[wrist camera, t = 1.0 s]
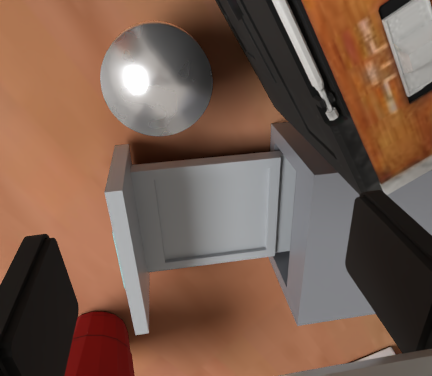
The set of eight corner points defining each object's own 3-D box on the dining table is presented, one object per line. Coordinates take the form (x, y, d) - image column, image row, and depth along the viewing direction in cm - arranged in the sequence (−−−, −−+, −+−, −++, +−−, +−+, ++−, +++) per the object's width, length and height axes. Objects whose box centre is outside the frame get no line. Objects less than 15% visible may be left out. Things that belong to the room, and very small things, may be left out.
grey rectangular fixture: (110, 145, 27) (99, 192, 21) (292, 129, 29) (330, 168, 23) (135, 271, 33) (131, 335, 27) (283, 252, 35) (311, 309, 29)
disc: (94, 23, 21) (89, 26, 19) (206, 17, 21) (210, 20, 20) (114, 130, 24) (111, 140, 22) (210, 122, 25) (214, 131, 23)
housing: (271, 123, 29) (314, 175, 21) (432, 109, 31) (527, 152, 23) (265, 250, 36) (297, 325, 28) (399, 233, 37) (464, 300, 29)
